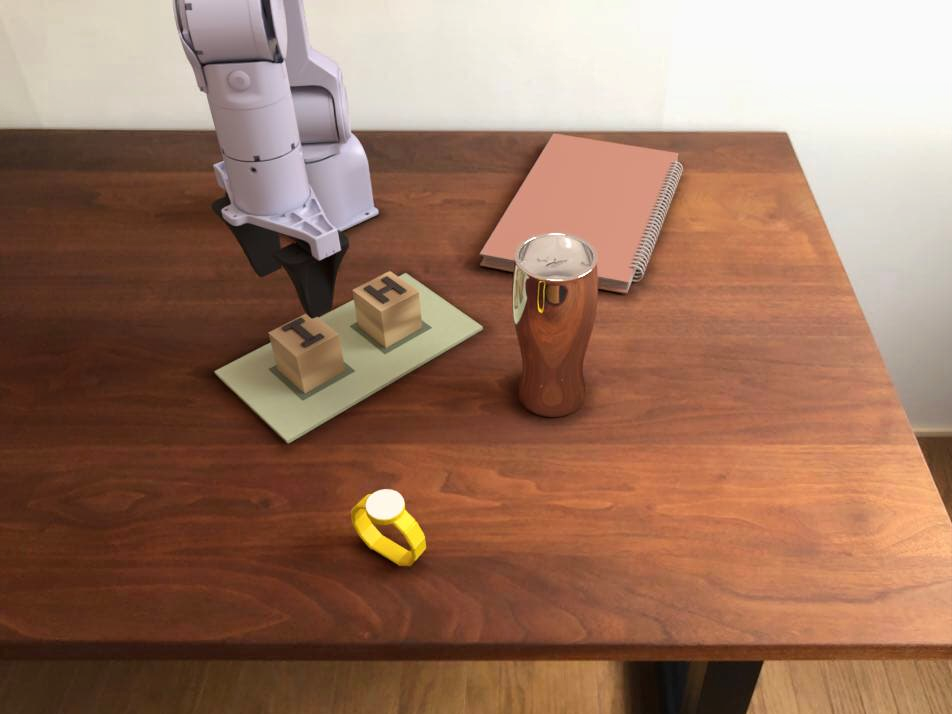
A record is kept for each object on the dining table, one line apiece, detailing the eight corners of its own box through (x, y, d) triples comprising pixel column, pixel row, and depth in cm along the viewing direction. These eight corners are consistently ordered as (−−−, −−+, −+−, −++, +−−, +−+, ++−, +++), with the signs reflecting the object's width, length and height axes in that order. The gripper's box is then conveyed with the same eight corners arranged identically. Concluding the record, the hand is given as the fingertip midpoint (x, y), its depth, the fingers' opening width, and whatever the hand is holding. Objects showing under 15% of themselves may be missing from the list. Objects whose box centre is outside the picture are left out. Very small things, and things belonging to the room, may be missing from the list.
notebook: (637, 297, 90) (638, 281, 89) (480, 267, 94) (479, 251, 92) (685, 167, 109) (687, 152, 108) (553, 145, 112) (553, 131, 111)
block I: (318, 347, 84) (309, 309, 80) (345, 370, 81) (338, 332, 78) (277, 369, 81) (267, 330, 78) (304, 393, 79) (295, 354, 76)
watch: (349, 548, 68) (337, 498, 64) (372, 523, 70) (362, 473, 65) (412, 583, 66) (404, 534, 61) (434, 557, 67) (428, 507, 63)
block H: (394, 307, 88) (389, 268, 85) (422, 327, 86) (418, 289, 83) (358, 326, 86) (351, 288, 83) (385, 348, 84) (380, 309, 80)
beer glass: (501, 379, 81) (498, 241, 71) (570, 360, 83) (577, 223, 73) (531, 430, 77) (532, 290, 66) (603, 408, 79) (616, 269, 68)
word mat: (406, 275, 93) (405, 272, 92) (482, 329, 86) (482, 325, 86) (215, 374, 82) (213, 370, 81) (287, 444, 75) (286, 440, 75)
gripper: (162, 125, 67) (207, 273, 77) (266, 201, 60) (301, 354, 69) (244, 97, 71) (278, 241, 80) (352, 165, 63) (375, 314, 73)
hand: (293, 291), depth 75 cm, fingers open, 7 cm apart
